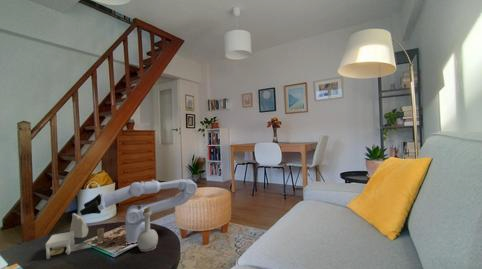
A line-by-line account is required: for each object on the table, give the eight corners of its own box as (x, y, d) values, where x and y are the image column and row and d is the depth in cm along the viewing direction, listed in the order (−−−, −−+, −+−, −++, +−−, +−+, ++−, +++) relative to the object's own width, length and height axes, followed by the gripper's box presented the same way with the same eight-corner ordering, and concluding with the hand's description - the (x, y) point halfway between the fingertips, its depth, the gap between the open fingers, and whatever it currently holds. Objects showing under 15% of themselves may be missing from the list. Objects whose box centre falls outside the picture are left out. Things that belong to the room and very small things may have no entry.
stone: (89, 235, 116) (89, 212, 116) (79, 239, 111) (78, 216, 111) (77, 232, 120) (77, 210, 120) (67, 236, 116) (66, 213, 116)
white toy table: (74, 244, 106) (73, 231, 106) (70, 254, 97) (69, 239, 97) (52, 249, 102) (52, 235, 102) (46, 259, 93) (45, 244, 93)
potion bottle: (151, 253, 95) (150, 210, 95) (132, 251, 97) (131, 209, 97) (162, 243, 104) (161, 204, 104) (145, 242, 106) (144, 203, 106)
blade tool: (104, 240, 110) (104, 226, 110) (103, 244, 105) (103, 230, 105) (67, 248, 103) (67, 233, 103) (65, 252, 98) (64, 237, 98)
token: (65, 249, 102) (65, 246, 102) (62, 254, 98) (62, 251, 98) (51, 252, 100) (51, 249, 100) (47, 257, 96) (47, 254, 96)
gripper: (114, 184, 111) (82, 196, 106) (111, 194, 98) (75, 207, 93) (119, 197, 112) (88, 209, 107) (117, 208, 99) (81, 222, 94)
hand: (82, 209), depth 100 cm, fingers open, 7 cm apart
